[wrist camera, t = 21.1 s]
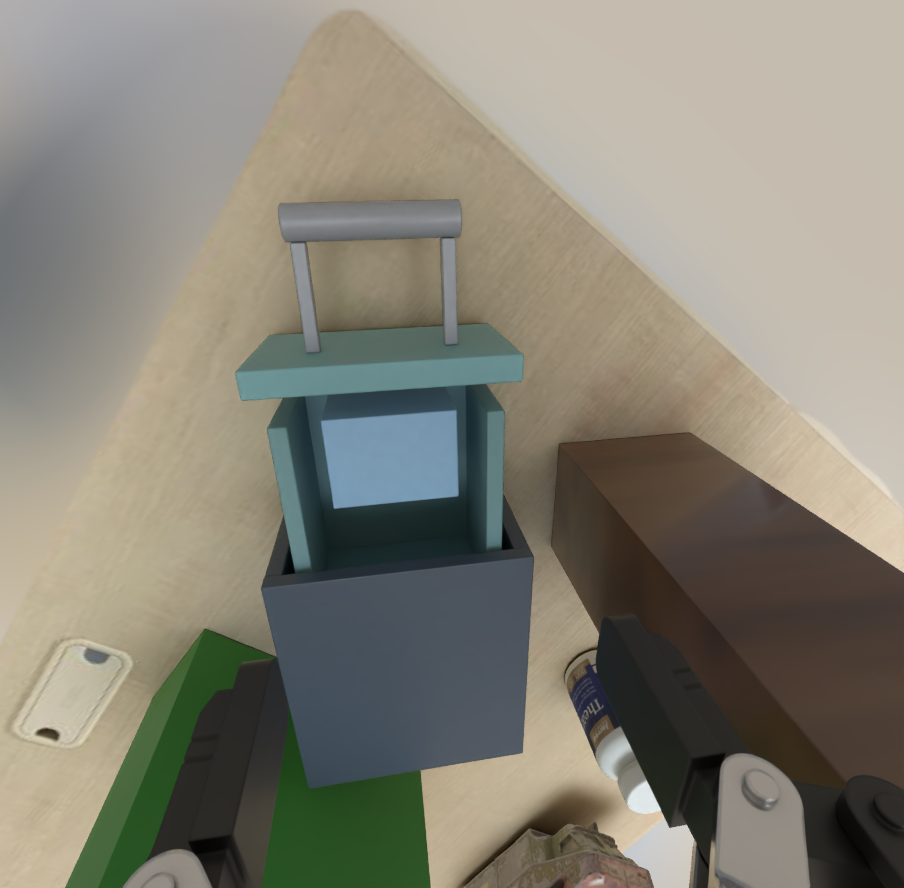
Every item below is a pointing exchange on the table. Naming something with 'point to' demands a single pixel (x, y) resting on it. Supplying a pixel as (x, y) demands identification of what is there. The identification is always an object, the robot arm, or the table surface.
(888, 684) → the wooden stand
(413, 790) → the hardback book
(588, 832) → the decorative box
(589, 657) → the pill bottle
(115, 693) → the table surface
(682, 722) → the robot arm
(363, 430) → the blue rectangular block
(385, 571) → the cabinet
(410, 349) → the drawer
